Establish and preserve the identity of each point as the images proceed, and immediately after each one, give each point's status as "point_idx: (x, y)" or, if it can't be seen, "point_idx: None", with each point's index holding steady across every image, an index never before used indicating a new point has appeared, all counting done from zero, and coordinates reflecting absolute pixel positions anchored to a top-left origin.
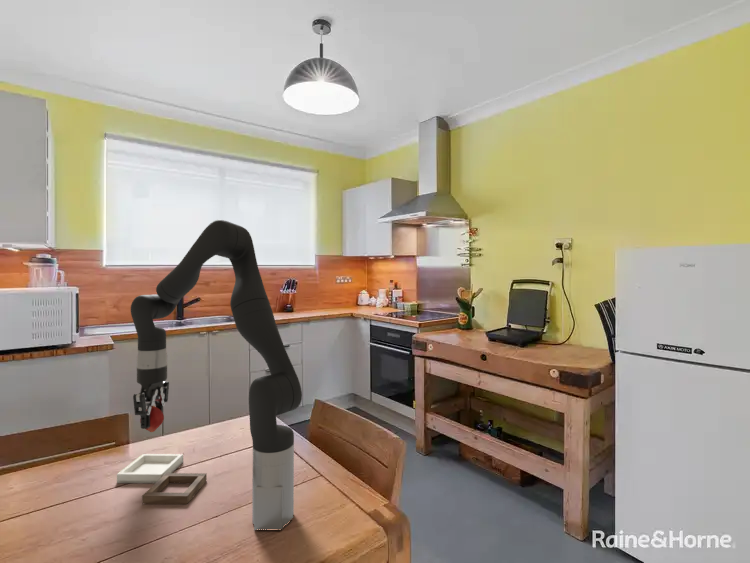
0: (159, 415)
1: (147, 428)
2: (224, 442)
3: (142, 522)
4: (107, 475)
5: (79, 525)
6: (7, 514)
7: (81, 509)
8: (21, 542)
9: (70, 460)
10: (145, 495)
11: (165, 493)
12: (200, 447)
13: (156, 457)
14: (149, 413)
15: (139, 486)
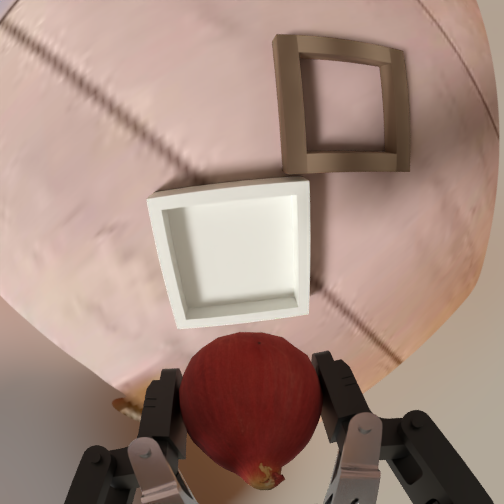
0: (272, 384)
1: (325, 353)
2: (16, 151)
3: (448, 130)
4: None
5: (444, 248)
6: (388, 373)
7: (401, 286)
8: (458, 295)
9: None
10: (409, 163)
11: (399, 112)
12: (55, 205)
13: (177, 282)
14: (365, 420)
15: (319, 230)
